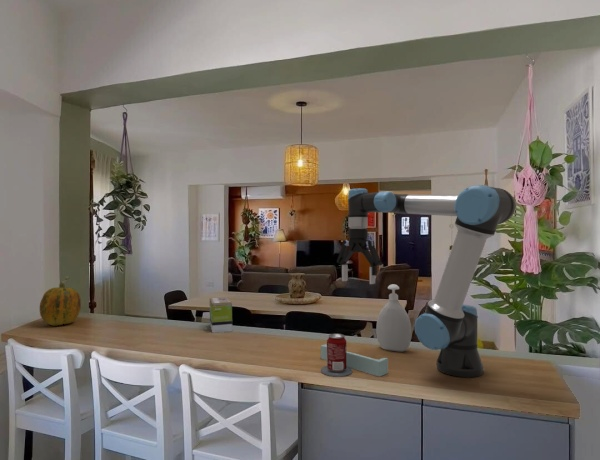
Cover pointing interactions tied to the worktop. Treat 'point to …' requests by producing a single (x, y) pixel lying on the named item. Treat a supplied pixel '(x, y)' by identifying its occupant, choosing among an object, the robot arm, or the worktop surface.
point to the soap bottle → (393, 325)
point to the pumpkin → (60, 305)
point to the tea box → (220, 314)
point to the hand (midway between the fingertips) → (358, 282)
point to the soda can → (336, 353)
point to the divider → (362, 362)
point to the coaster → (336, 374)
